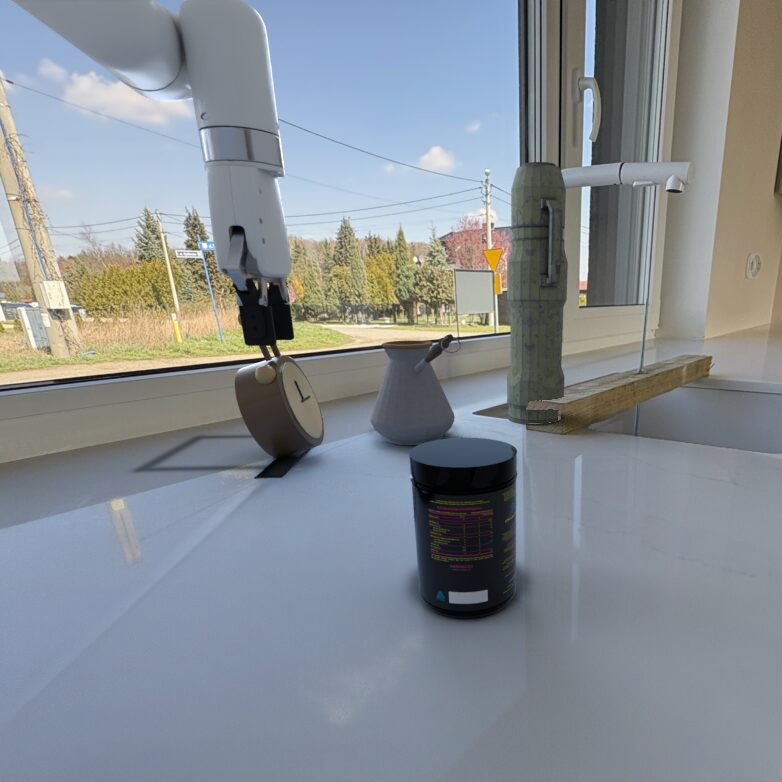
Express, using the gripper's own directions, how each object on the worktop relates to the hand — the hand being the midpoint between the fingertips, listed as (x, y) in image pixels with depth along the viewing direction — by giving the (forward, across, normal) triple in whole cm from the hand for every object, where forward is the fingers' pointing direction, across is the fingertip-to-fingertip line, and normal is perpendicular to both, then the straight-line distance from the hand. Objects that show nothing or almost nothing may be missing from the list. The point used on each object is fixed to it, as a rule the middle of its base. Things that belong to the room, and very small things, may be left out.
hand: (270, 340), depth 64 cm
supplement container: (+14, +34, +22) cm, 43 cm away
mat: (+14, 0, -6) cm, 15 cm away
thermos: (+14, -21, +32) cm, 41 cm away
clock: (+6, 0, -3) cm, 6 cm away
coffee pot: (+14, -5, +16) cm, 22 cm away
